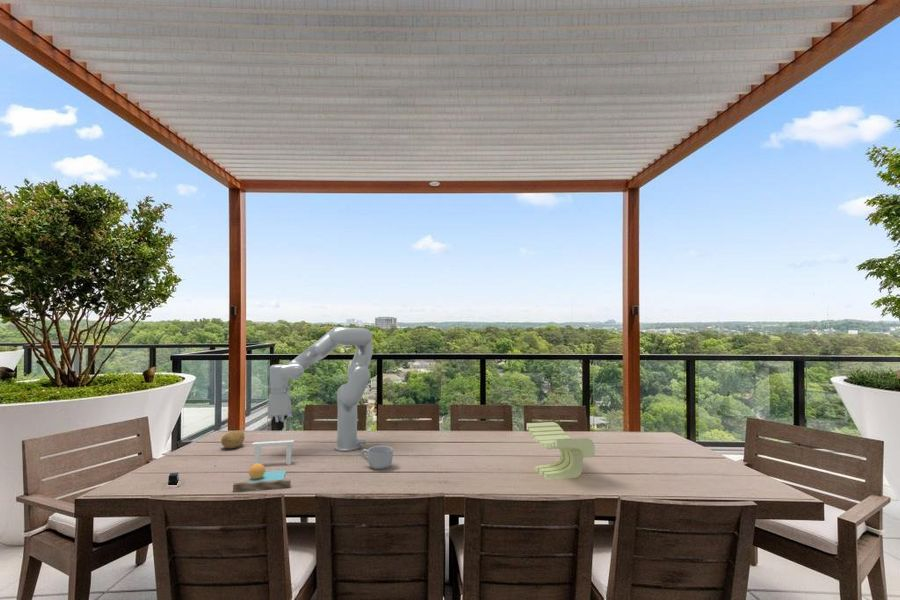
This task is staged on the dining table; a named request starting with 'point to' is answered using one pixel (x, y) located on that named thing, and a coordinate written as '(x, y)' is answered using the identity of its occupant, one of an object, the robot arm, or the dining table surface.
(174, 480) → the black angular piece
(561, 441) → the green ribbed curved stand
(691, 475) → the dining table surface
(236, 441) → the potato
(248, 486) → the stopper
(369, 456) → the teacup
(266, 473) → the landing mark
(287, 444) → the bridge
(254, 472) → the ball
